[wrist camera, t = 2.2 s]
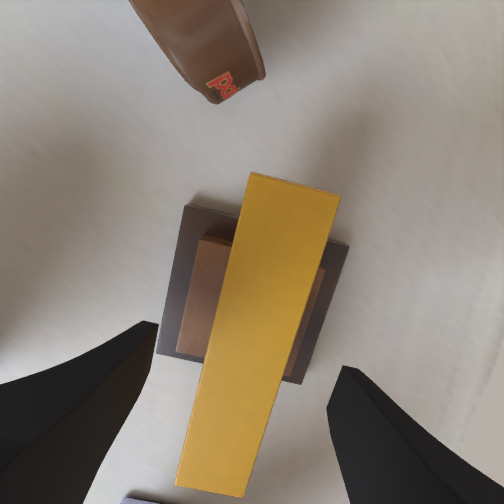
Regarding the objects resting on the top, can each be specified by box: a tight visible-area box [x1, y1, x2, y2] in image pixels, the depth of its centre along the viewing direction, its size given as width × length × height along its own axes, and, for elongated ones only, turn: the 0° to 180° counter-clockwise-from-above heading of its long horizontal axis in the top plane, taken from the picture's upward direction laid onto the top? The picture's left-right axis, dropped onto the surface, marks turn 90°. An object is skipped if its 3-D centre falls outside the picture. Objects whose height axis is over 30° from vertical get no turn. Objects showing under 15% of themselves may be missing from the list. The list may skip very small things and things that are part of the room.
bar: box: [175, 172, 341, 498], centre depth 13 cm, size 14×3×3 cm, turn 166°
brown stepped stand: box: [156, 204, 349, 385], centre depth 16 cm, size 9×9×3 cm
